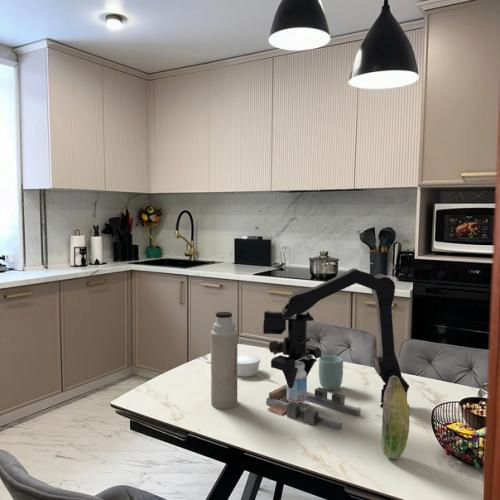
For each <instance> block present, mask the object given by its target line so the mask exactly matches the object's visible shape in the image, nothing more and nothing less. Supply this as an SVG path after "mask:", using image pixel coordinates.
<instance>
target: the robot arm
mask: <svg viewBox="0 0 500 500" xmlns="http://www.w3.org/2000/svg"><path fill="white" fill-rule="evenodd" d="M355 284H357V285H360V286H363V287H365V288H368V289H370V291H371V293H372V296H373V300H374V302H375V305H376V315H377V328H378V329H377V330H378V341H379V345H378V346H379V353H378V356H374V355H373V361H374V370H375V372H376V373H377V375H378V377H379V378H380V379H381V380H382V382H383V383H384V384H383V386H382V389H381V390H380V391H381V392H380V393H381V395H380V403H381V404H380V405H379V407H380V408H383V404H384V403H383V400H384V392H385V389H386V387H387V384H388V381H389V378H390V377H391V376H397V377H398V378H399V379H400V382H401V384H402V386H403V388H404V390H405V393H406V397H407V398H408V391H409V388H410V385H409V384H408V382H407V381H406V379H405V378H404V377H403V376H402V372H401V368H400V365H399V361H398V358H397V356H396V352H395V338H394V335H395V334H394V326H393V325H394V322H393V310H392V306H393V304H394V303H393V302H394V299H395V294H396V293H395V292H396V285H395V281H394V280H392V278H390V277H389V276H387V275H384V274H382V273H380V274H379V273H378V274H376V275H374V274H372V273H368V272H367V271H362V270H359V269H357V268H355V267H354V268H351V269H349V270H348V271H345V272H344V273H342V274H339V275H337V276H335V277H332V278H331V279H329V280H327V281H325V282H322V283H320V284H318V285H316V286H312V287H309V288H303V289H300V290H296V291H293V292H291V293H290V294H289V296H288V299H287V303H286V305H285V306H284V307H282V309H281V311H270V310H264V311H263V312H264V315H263V316H264V317H263V324H262V327H263V329H262V330H263V335H282V334H283V333H284V332H286V329H287V336H286V337H284V339H283V340H282V341H281V340H280V341H277V340H272V341H270V342H269V346H268V350H269V352H270V353H271V354H273V355H277V354H282V355H278V356H275V357H272V358H271V360H270V367H271V368H272V369H276V370H279V371H281V372H282V373H283V375H284V378H285V381H286V385H287V384H288V387H289V388H291V389H292V387H293V385H294V381H295V377H296V374H297V370H298V368H296V367H295V362H296V361H300V362H303V363H304V364H305V368H304V370H305V371H306V373H307V377H308V376H309V374H310V372H311V371H312V368H313V367H314V365H315V363H316V362H317V359H319V358H320V357H321V356H322V349H321V348H320V347H319V346H314V345H312V344H311V345H310V344H308V342H310V341H311V338H310V337H308V322H310V321H311V322H313V321H314V320H315V319H314V316H313V315H312V314H311V313H310V311H308V310H309V309H310V310H311V308H313V307H314V306H315V305H316V304H317V303H318V302H319V301H322V300H323V299H326V298H328V297H331V296H332V295H334V294H337V292H340V291H342V290H344V289H347V288H349V287H351V286H352V285H355ZM284 355H285V356H284ZM313 357H314V358H313ZM409 406H410V405H409V403H408V407H409Z"/></svg>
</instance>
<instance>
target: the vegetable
mask: <svg viewBox="0 0 500 500" xmlns="http://www.w3.org/2000/svg"><path fill="white" fill-rule="evenodd" d="M383 403H384V404H383V407H382V417H381V418H382V419H381V425H382V426H381V427H382V428H381V430H382V431H381V432H382V433H381V449H382V452H383V454H384V455H385V456H386V457H387V458H388V459H391V460H392V459H393V460H394V459H396V460H397V459H398V458H400V457H401V456H402V455H403V453H404V452H405V448H406V446H407V442H408V438H409V432H410V411H409V410H410V409H409V406H408V404H409V403H408V396H407V397H406V393H405V390H404V388H403V386H402V384H401V382H400V379H399V378H398V377H397V376H391V377H390V378H389V381H388V384H387V387H386V389H385V392H384V400H383Z"/></svg>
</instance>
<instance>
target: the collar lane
mask: <svg viewBox="0 0 500 500" xmlns="http://www.w3.org/2000/svg"><path fill="white" fill-rule="evenodd" d="M345 396H346V395H345V394H344V393H340V392H334V393H333V394H331V399H329V398H328V390H327V389H324V388H323V387H320V386H319V387H317V388H315V389H314V393H312V392H309V391H307V398H306V401H308V402H311V403H314V404H317V405H320V406H323V407H326V408H328V409H332V410H336V411H338V412H341V413H344V414H347V415H350V416H354V417H356V418H359V417H360V416H361V411H362V410H361V408H357V407H354V406H351V405H349V404H346V403H345V401H346V400H345V399H346V397H345ZM285 398H287V384H285V385H282V386H281V387H278V388H276V389H274V390H272V391H270V392H269V393H268V397H267V398H266V401H265V403H266V405H267V406H269V407H268V408H267V411H268V412H271V413H274V414H276V415H280V416H284V415H285V414H286V417H287V418H290V419H293V420H295V421H296V420H297V419H299V418H301V417H302V418H304V419H303V420H304V424H306V425H309V426H312V427H315V426H316V425H318V424H320V425H323V426H325V427H326V426H327V427H328V428H332V429H334V430H337V431H341V430H342V429H343V421H340V420H338V419H335V418H331V417H329V416H326V415H323V414H321V413H319V412H320V411H319V410H318V409H315V408H311V407H308V408H307V409H306V408H302V405H301V403H294V402H289V403H288V402H286V401H282V400H283V399H285Z"/></svg>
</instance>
